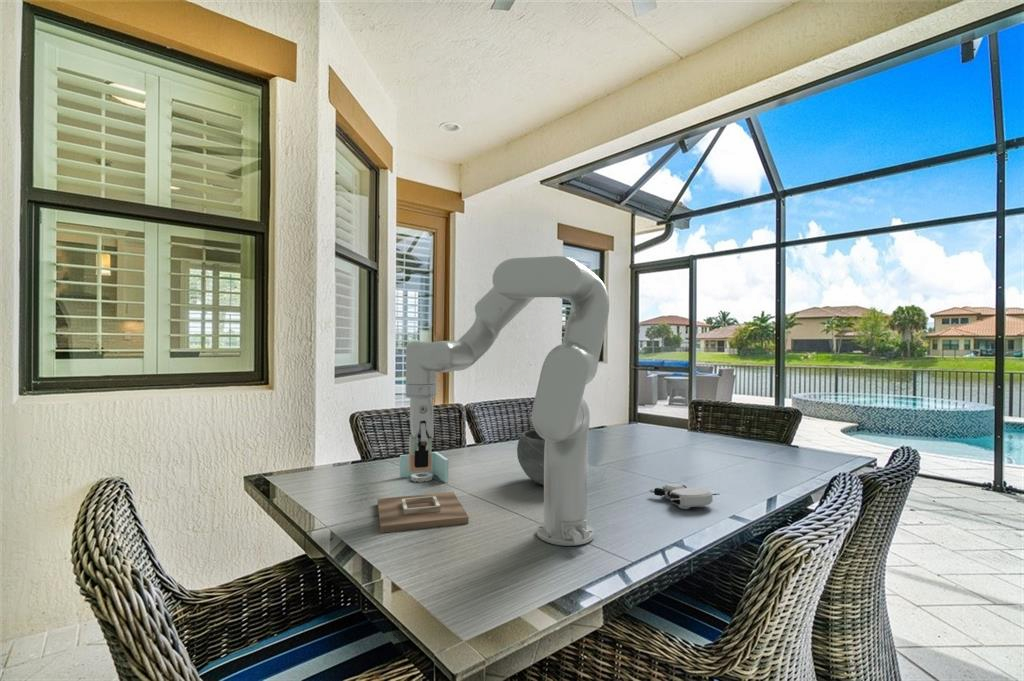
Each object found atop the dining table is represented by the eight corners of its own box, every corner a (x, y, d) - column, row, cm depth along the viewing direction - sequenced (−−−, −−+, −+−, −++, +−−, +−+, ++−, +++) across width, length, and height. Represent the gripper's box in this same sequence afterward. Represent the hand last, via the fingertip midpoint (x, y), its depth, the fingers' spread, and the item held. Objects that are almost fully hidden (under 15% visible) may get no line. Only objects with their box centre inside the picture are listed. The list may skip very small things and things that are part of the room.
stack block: (431, 470, 118) (431, 437, 118) (410, 471, 117) (411, 438, 117) (428, 465, 123) (429, 434, 123) (408, 466, 122) (409, 434, 122)
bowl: (585, 496, 134) (585, 442, 134) (510, 491, 138) (510, 438, 138) (588, 476, 154) (588, 429, 154) (523, 472, 158) (523, 426, 159)
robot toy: (646, 500, 133) (682, 514, 119) (645, 484, 133) (681, 496, 119) (683, 496, 137) (722, 509, 123) (682, 480, 137) (721, 491, 123)
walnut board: (468, 523, 113) (468, 511, 113) (380, 532, 107) (380, 520, 107) (453, 497, 132) (453, 487, 132) (377, 504, 126) (377, 494, 126)
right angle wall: (399, 479, 152) (399, 455, 152) (436, 474, 157) (436, 451, 158) (409, 489, 141) (409, 463, 142) (448, 484, 147) (448, 459, 147)
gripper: (441, 394, 113) (440, 472, 113) (431, 387, 129) (430, 455, 129) (408, 394, 111) (407, 474, 111) (402, 388, 127) (401, 457, 127)
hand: (420, 463), depth 120 cm, fingers closed on stack block, 5 cm apart
